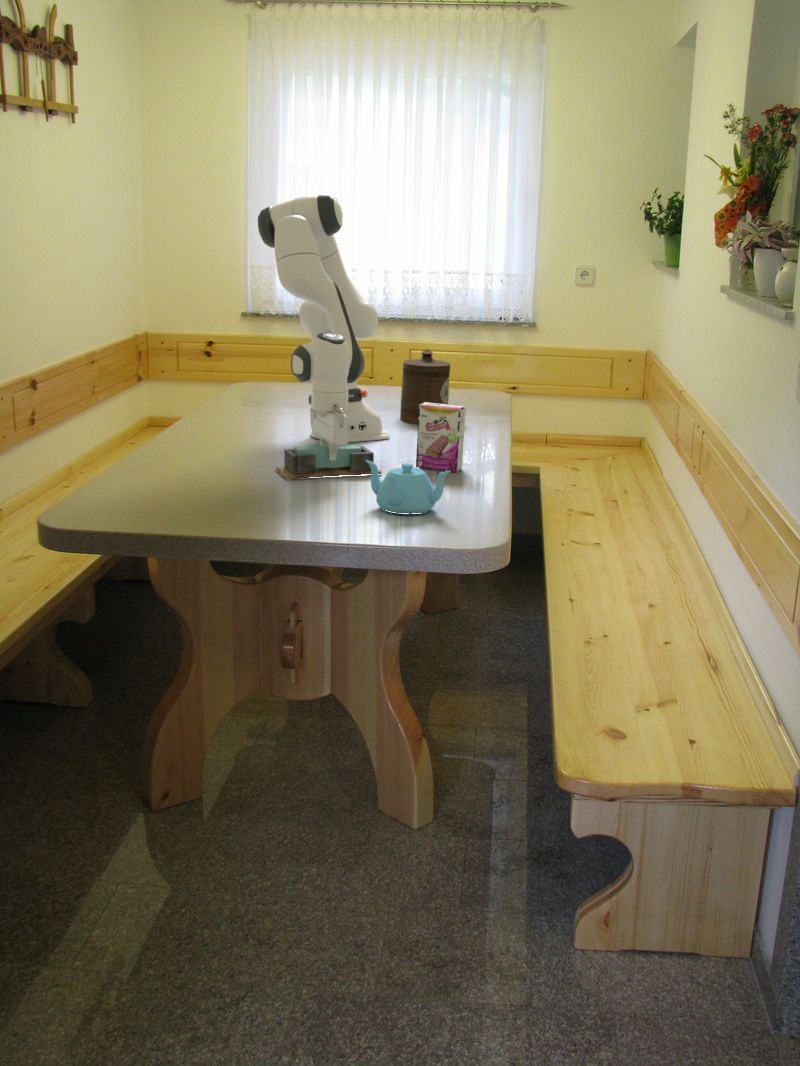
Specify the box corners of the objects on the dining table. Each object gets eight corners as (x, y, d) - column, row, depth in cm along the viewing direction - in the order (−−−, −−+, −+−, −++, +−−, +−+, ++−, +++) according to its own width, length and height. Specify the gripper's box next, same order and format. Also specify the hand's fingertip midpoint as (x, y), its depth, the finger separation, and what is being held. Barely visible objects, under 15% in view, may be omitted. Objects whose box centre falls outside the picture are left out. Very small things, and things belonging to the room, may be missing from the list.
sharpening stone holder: (368, 466, 281) (368, 445, 279) (381, 475, 272) (382, 453, 270) (276, 470, 273) (276, 448, 271) (286, 480, 264) (286, 457, 262)
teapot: (424, 499, 251) (426, 455, 248) (451, 516, 238) (453, 470, 235) (363, 503, 246) (364, 458, 243) (387, 521, 233) (389, 473, 230)
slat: (355, 462, 276) (356, 444, 275) (360, 466, 273) (361, 448, 271) (293, 464, 271) (294, 446, 270) (298, 468, 267) (298, 449, 266)
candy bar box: (415, 468, 281) (417, 404, 276) (421, 464, 285) (423, 401, 281) (457, 473, 277) (460, 408, 273) (462, 469, 282) (466, 405, 277)
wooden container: (453, 424, 341) (457, 352, 335) (408, 425, 337) (410, 352, 331) (438, 415, 355) (442, 346, 349) (394, 416, 351) (397, 346, 344)
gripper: (355, 409, 259) (354, 466, 263) (330, 394, 277) (329, 448, 281) (329, 409, 257) (328, 467, 261) (306, 395, 275) (305, 449, 279)
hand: (328, 457), depth 271 cm, fingers closed on slat, 4 cm apart
